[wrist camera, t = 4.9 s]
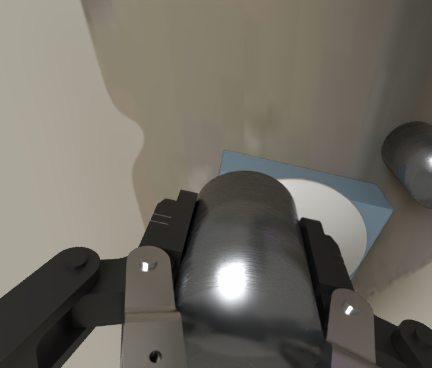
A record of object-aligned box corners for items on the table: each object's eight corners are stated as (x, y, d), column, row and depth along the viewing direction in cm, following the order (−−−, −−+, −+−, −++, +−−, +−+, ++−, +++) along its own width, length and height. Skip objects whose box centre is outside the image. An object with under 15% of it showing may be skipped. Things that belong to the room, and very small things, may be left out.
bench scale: (226, 139, 28) (219, 186, 21) (381, 175, 28) (424, 232, 21) (195, 271, 36) (182, 335, 29) (314, 297, 37) (329, 366, 30)
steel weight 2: (397, 116, 26) (434, 146, 20) (449, 128, 26) (500, 161, 20) (372, 163, 28) (400, 201, 23) (420, 175, 28) (459, 215, 23)
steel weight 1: (204, 159, 13) (172, 272, 8) (311, 184, 13) (352, 311, 8) (186, 241, 15) (153, 371, 10) (278, 262, 15) (292, 400, 10)
